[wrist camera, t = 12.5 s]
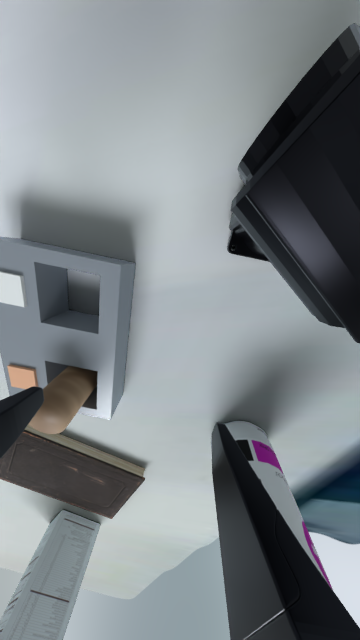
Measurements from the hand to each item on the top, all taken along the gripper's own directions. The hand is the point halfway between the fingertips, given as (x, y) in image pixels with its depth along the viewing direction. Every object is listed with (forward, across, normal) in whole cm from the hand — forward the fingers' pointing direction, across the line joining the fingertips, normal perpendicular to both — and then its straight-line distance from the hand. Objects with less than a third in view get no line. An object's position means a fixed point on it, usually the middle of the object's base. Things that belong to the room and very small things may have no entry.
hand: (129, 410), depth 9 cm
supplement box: (+12, +12, +53) cm, 56 cm away
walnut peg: (+12, +8, +8) cm, 17 cm away
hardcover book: (+13, +12, +32) cm, 36 cm away
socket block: (+12, +10, +3) cm, 16 cm away
